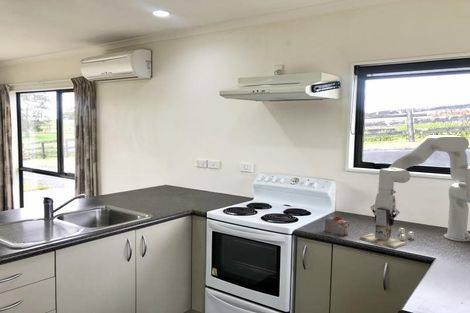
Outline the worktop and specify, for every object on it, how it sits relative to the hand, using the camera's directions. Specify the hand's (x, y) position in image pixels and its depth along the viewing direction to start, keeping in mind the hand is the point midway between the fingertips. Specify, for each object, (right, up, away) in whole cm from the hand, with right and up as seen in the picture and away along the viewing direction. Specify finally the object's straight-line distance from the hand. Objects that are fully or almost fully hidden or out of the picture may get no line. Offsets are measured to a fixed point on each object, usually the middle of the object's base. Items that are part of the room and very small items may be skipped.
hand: (383, 223), depth 210 cm
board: (0, -10, +1) cm, 10 cm away
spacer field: (+11, -9, +11) cm, 18 cm away
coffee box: (0, -8, +1) cm, 8 cm away
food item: (-22, -8, +14) cm, 28 cm away
